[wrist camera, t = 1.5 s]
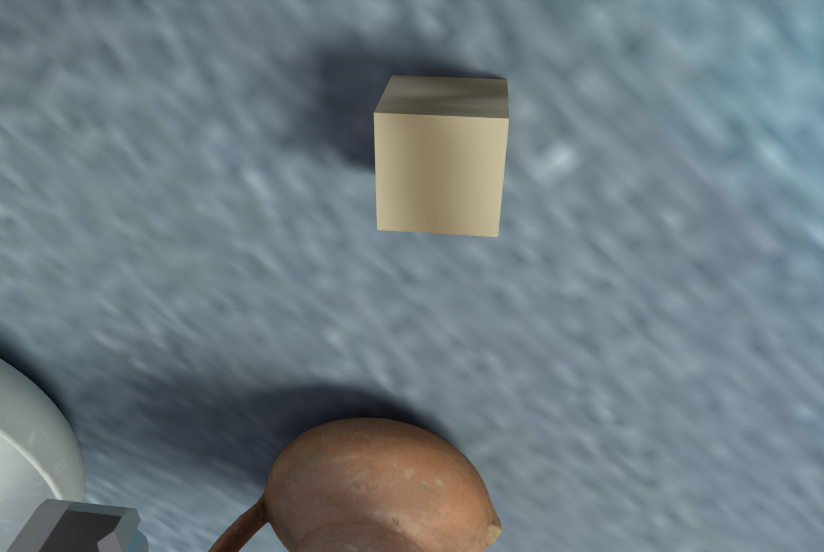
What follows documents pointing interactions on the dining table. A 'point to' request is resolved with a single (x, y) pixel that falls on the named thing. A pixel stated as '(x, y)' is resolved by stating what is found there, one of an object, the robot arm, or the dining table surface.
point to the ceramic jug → (370, 493)
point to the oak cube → (441, 154)
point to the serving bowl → (33, 453)
